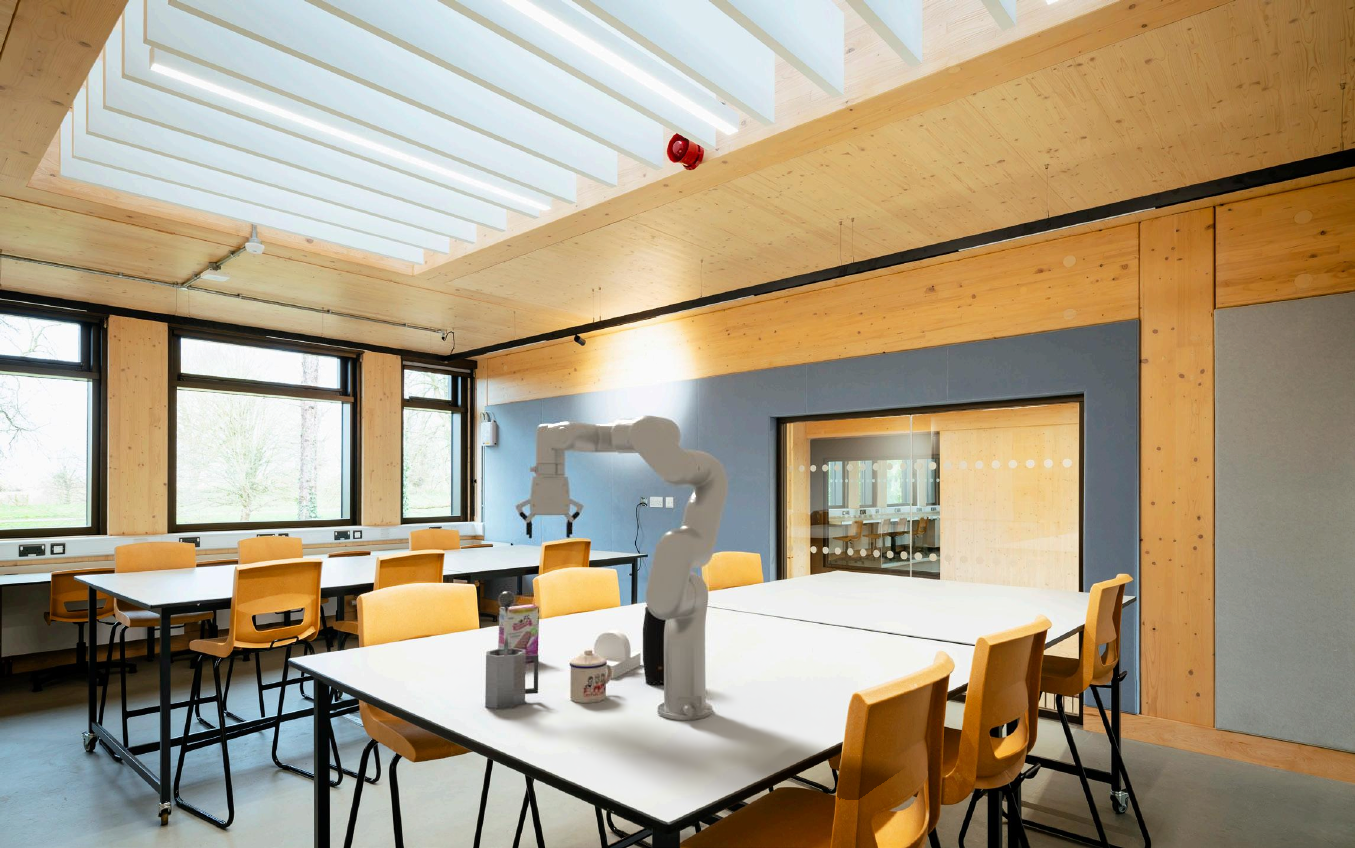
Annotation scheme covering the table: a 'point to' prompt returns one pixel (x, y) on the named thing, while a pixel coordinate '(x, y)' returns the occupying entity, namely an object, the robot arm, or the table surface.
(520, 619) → the candy bar box
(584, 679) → the teacup with lid
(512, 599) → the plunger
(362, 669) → the table surface
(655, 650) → the portable speaker
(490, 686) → the grey faceted mug
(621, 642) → the white arched block
